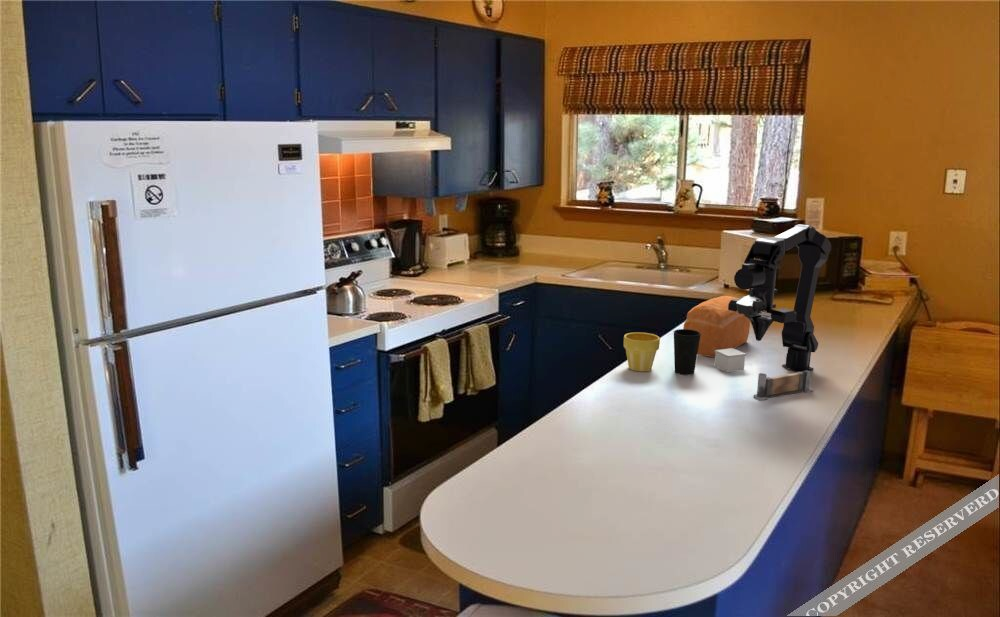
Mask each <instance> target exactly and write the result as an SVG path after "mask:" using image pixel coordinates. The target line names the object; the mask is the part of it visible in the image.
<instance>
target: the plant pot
mask: <svg viewBox="0 0 1000 617" xmlns="http://www.w3.org/2000/svg"><path fill="white" fill-rule="evenodd" d="M660 340H661V338H660V336H658V335H656V334H655V333H648V332H628V333H625V334H624V336H623V348H624V349H625V354H626V358H627V366H628V368H629V370H632V371H634V372H640V373H642V372H643V373H644V372H650V371H651V370H652V368H653V364H654V361H655V358H656V355H657V351H659V350H660V343H661V341H660Z"/></svg>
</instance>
